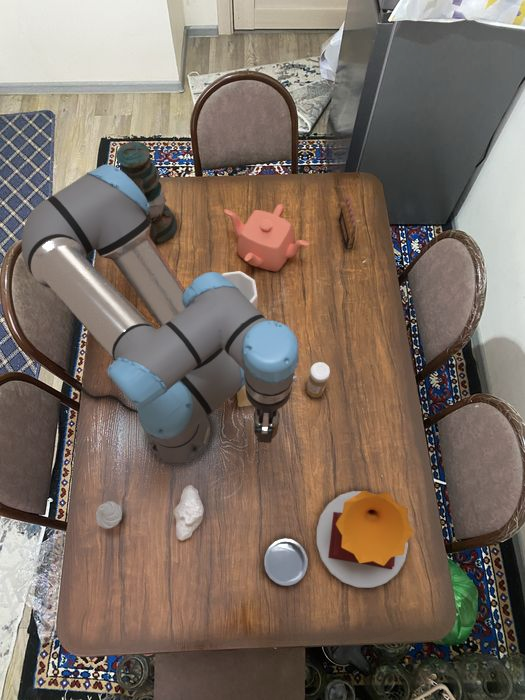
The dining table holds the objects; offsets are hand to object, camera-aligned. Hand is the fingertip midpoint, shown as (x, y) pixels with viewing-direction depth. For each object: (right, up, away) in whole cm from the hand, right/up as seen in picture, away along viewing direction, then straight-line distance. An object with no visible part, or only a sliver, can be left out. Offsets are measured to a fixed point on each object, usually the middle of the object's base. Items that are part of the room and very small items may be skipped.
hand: (266, 420), depth 103 cm
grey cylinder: (+4, -33, +13) cm, 36 cm away
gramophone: (+22, -29, +15) cm, 39 cm away
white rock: (-17, -24, +17) cm, 34 cm away
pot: (0, +41, +44) cm, 61 cm away
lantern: (-33, +50, +48) cm, 76 cm away
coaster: (-2, +5, +29) cm, 29 cm away
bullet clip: (+23, +48, +47) cm, 71 cm away
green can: (0, -3, +8) cm, 8 cm away
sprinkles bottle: (+13, +4, +29) cm, 31 cm away
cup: (-7, +21, +36) cm, 42 cm away
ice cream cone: (-33, -25, +16) cm, 45 cm away
